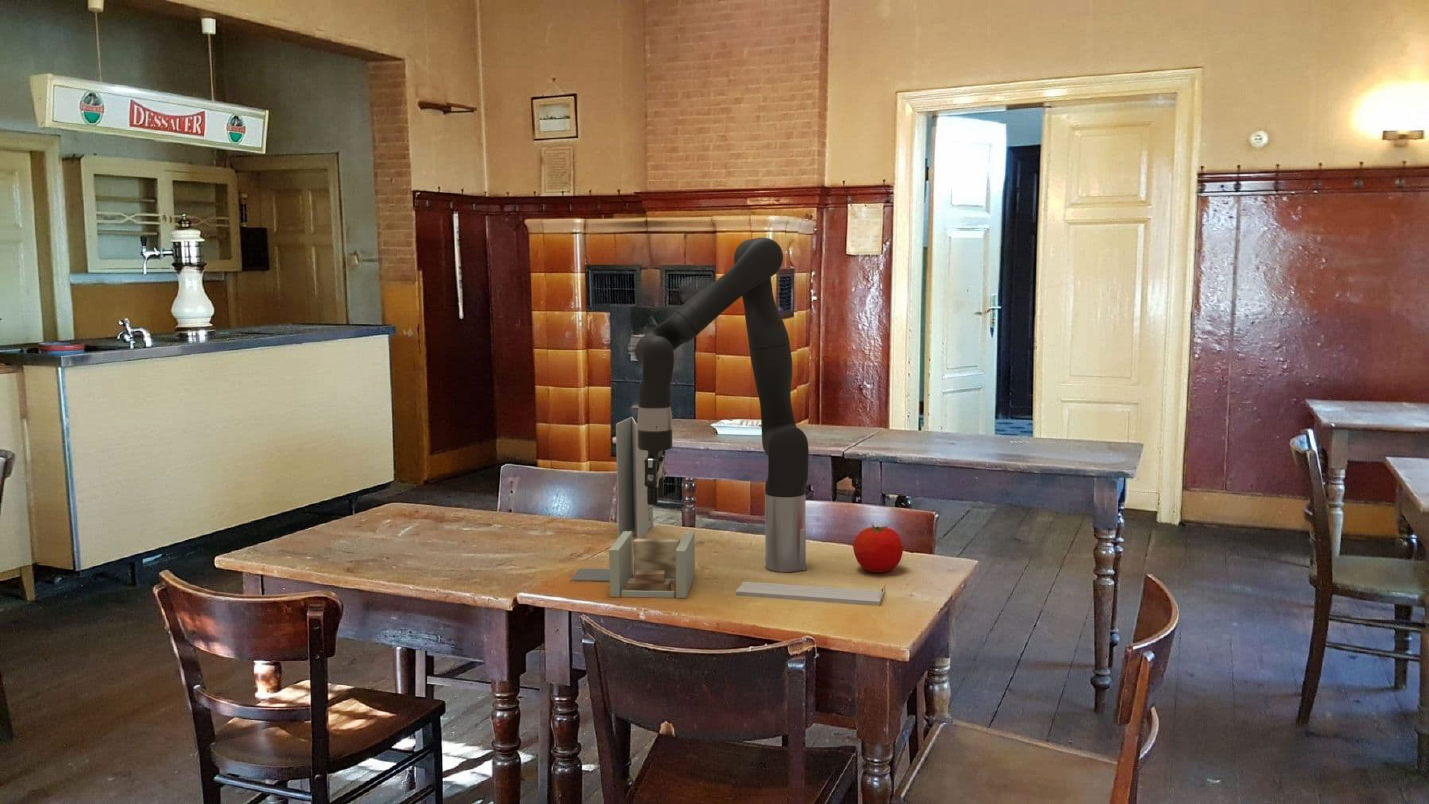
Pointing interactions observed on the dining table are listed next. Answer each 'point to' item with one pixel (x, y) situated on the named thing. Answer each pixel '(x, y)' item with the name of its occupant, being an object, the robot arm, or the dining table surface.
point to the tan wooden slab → (655, 556)
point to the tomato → (878, 549)
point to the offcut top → (649, 577)
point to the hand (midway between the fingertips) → (655, 500)
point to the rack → (624, 568)
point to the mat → (592, 575)
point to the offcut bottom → (649, 586)
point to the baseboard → (811, 593)
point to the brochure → (631, 481)
